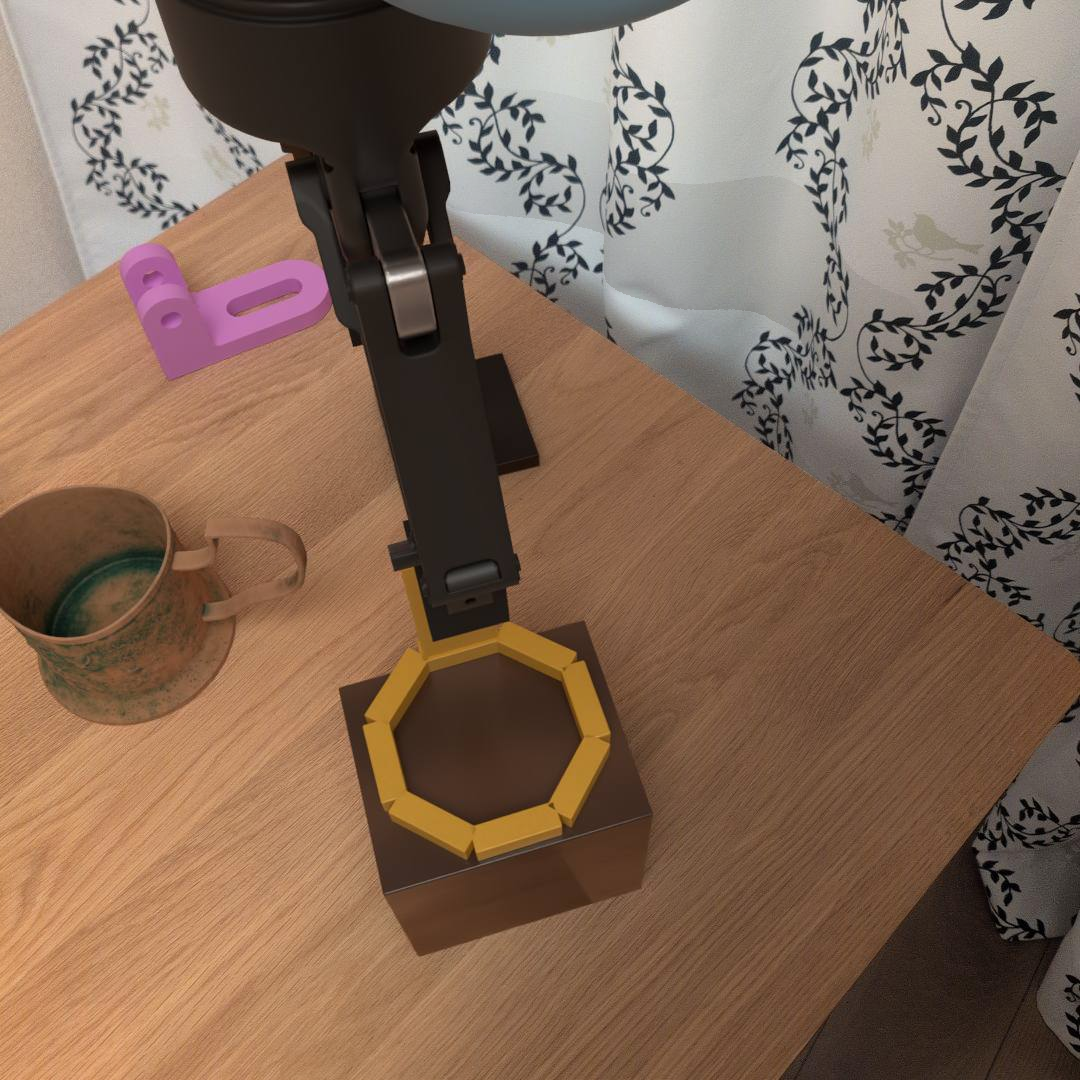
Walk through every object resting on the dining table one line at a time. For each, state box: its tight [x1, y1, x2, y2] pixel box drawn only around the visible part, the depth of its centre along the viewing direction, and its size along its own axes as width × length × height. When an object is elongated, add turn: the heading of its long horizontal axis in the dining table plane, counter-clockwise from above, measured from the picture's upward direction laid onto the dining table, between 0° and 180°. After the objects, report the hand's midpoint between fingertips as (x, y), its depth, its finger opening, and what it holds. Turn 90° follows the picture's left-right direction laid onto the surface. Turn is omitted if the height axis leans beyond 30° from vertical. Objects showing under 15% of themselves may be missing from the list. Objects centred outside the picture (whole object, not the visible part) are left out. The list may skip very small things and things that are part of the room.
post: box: [372, 352, 540, 477], centre depth 70 cm, size 9×9×13 cm
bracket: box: [118, 243, 333, 382], centre depth 79 cm, size 13×6×7 cm, turn 117°
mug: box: [0, 483, 308, 727], centre depth 64 cm, size 12×18×12 cm, turn 90°
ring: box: [363, 567, 611, 861], centre depth 48 cm, size 10×10×9 cm
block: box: [338, 619, 654, 957], centre depth 57 cm, size 10×12×12 cm
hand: (423, 466), depth 43 cm, fingers open, 13 cm apart
